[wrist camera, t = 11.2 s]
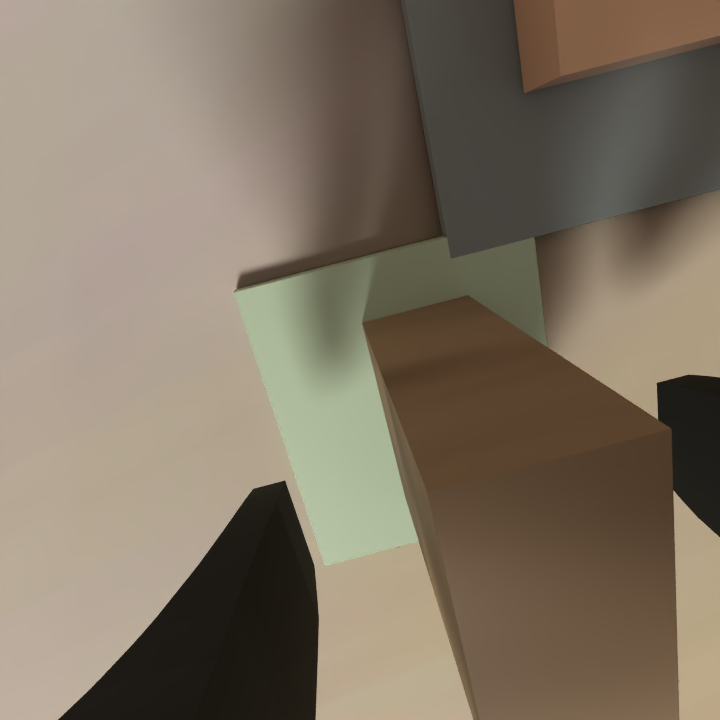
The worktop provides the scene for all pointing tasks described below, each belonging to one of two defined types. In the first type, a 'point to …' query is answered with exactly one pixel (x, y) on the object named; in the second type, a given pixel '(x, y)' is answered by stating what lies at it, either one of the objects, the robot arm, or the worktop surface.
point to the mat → (552, 130)
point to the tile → (606, 35)
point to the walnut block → (533, 517)
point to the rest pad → (364, 373)
